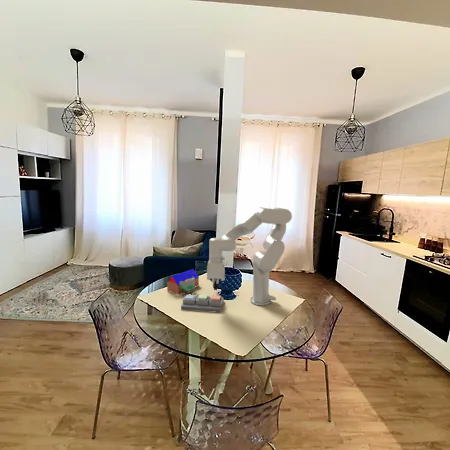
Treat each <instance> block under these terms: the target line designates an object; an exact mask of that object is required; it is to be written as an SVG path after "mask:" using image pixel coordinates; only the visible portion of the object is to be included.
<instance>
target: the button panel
mask: <svg viewBox="0 0 450 450" xmlns="http://www.w3.org/2000/svg"><path fill="white" fill-rule="evenodd" d="M194 295H195V298H194V300H190V299H185V297H186V296H187V295H186V296H184V297H183V299H182V304H181V305H180V310H184V311H185V310H186V311H199V312H209V311H216V312H215V313H221V311H220V310H222V308H223V305H224V303H223V302H225V299H224V297H223V296H221V301H220V302H218V301H211V298H212V296H210V295H208V299H207V301H204V300H198V297H199V295H196V294H194ZM221 307H222V308H221Z"/></svg>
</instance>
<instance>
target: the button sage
mask: <svg viewBox="0 0 450 450" xmlns="http://www.w3.org/2000/svg"><path fill="white" fill-rule="evenodd" d="M198 296H199V297H198ZM198 296H197V297H198V300H204V301H207V299H208V296H209V294H203V293H201V294H199V295H198Z"/></svg>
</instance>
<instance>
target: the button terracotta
mask: <svg viewBox="0 0 450 450" xmlns="http://www.w3.org/2000/svg"><path fill="white" fill-rule="evenodd" d="M211 297H212V298H211ZM211 297H210V298H211V301H218V302H220V301H221V297H222V295H217V294H213V295H211Z"/></svg>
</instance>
